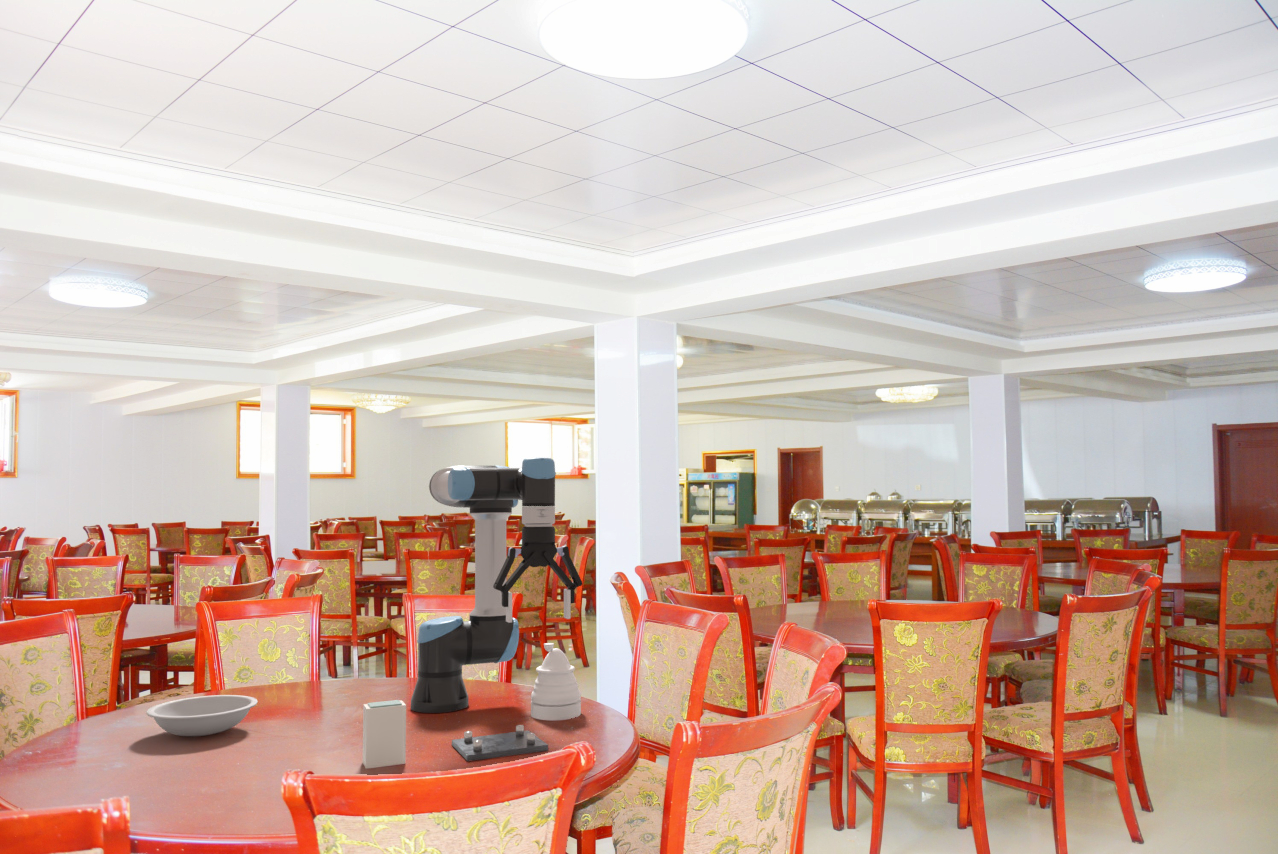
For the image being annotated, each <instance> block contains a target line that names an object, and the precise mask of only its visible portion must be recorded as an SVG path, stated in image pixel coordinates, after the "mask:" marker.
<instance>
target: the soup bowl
mask: <svg viewBox="0 0 1278 854" xmlns="http://www.w3.org/2000/svg"><path fill="white" fill-rule="evenodd" d="M257 705H258V699H257V698H256V697H253V696H249V695H248V696H247V695H239V694H238V695H237V694H217V695H215V694H213V695H212V694H211V695H200V696H194V697H192V696H191V697H187V698H186V697H185V698H179V699H174V700H170V701H166V702H162V703H158V704H155V705H153V706H151V707H149V708H148V709H147V710H146V712H145V714H146V715H147V716H148V717H150V718H153V719H154V721H155V723H156V724H157V725H158V727H160V728H161V729H162V730H164V731H165V732H167V733H169V734H172V735H174V736H181V737H201V736H202V737H203V736H209V735H215V734H218V733H222V732H225V731H228V730H230V729H232V728H234V727H236V726H237V725H238V724H239V723H241V721H243V720H244V719H245V717H246V716H247V715H248V713H249V712H250V710H251V709H252V708H254V707H256V706H257Z"/></svg>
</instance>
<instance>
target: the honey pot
mask: <svg viewBox="0 0 1278 854" xmlns="http://www.w3.org/2000/svg"><path fill="white" fill-rule="evenodd" d="M554 645H555V643H554V642H546V643H545V642H544V643H543V649H545V651H546V652H548V653H547V654H546V655H545V658H544V659H543V661H542V663H541V665H539V666H537V667H536V668H535V672H536V673H538V674H537V677H536V679H535V681H534V685H533V690H532V692H531V694H530V717H531V718H533V719H536V720H540V721H566V720H571V718H572V719H574V718H575V717H576V718H578V717H580V716H581V714H582V700H581V699H582V698H581V696H582V694H581V690H580V689H579V685H578V680H577V678H576V676H575V674H574V672H575V670H576V667H575V666H574V665H571V664H570V661H569V659H568V657H567V655H566V653H564V652H563V650H561V649H560V648H558V647H556V648H554ZM576 718H575V719H576Z"/></svg>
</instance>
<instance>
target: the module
mask: <svg viewBox="0 0 1278 854" xmlns="http://www.w3.org/2000/svg"><path fill="white" fill-rule="evenodd" d="M362 709H363V711H362V765H363V766H364V768H365V769H366V770H368V769H374V768H381V767H382V768H383V767H389V766H391V767H392V766H397V765H404V764H406V763H407V762H406V761H407V760H406V748H407V747H406V746H407V744H406V743H407V735H406V734H407V704H406V703H405V702H404V701H403V700H402V699H401V700H400V699H394V700H392V699H391V700H385V701H384V700H383V701H373V702H367V703H363V707H362Z"/></svg>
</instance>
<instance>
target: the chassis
mask: <svg viewBox="0 0 1278 854" xmlns="http://www.w3.org/2000/svg"><path fill="white" fill-rule="evenodd" d="M451 746H452V747H453V748H454V749H455V750H456V751H457V752H458V753H459V755H461V757H463V759H465V760H466V761H467V762H472V761H478V760H481V761H482V760H487V759H495V758H501V757H509V756H516V755H525V754H532V753H539V752H546V751H547V752H548V751H549V744H548V743H546V742H545V741H544V740H543V739H541V738H540V737H539V736H537V735H536V734H535V733H534V732H532V731H530V730H527V729H526V730H525V726H524V725H523V724H517V725H516V726H515V731H513V732H504V733H495V734H488V735H480V736H473V731H471V730H467V731H463V737H461V738H456V739H455V738H454V739H451Z"/></svg>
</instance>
